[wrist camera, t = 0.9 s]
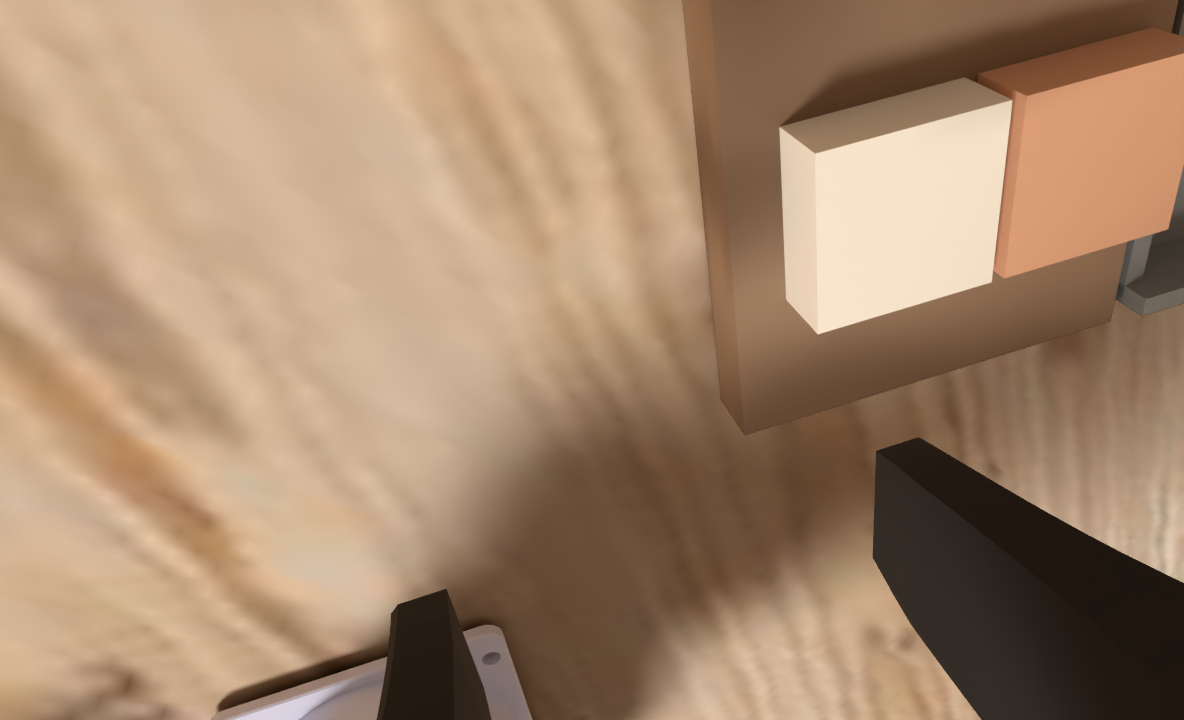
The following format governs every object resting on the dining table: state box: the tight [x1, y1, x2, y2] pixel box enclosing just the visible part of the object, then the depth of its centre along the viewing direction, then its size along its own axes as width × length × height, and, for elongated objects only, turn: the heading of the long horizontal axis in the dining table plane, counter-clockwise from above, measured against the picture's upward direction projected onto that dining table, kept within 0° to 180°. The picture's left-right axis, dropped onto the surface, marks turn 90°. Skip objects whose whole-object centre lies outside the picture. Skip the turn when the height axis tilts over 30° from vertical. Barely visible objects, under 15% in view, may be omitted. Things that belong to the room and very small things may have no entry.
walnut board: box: [683, 0, 1178, 435], centre depth 20 cm, size 11×10×2 cm
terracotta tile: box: [977, 27, 1184, 278], centre depth 19 cm, size 4×4×2 cm
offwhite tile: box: [779, 77, 1013, 334], centre depth 18 cm, size 4×4×2 cm
